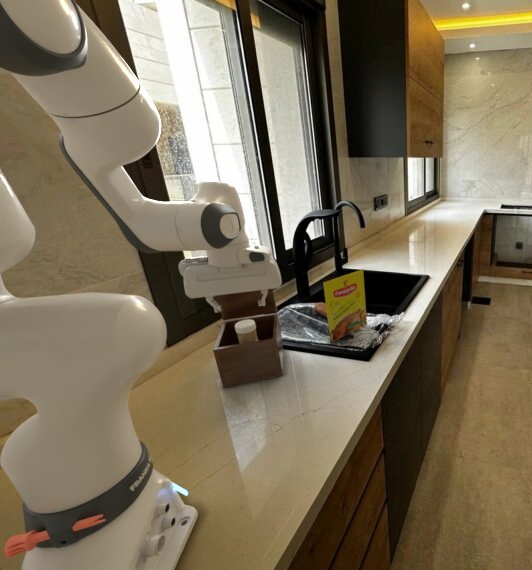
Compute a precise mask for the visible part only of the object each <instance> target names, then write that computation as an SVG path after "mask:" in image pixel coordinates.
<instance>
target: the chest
mask: <svg viewBox="0 0 532 570" xmlns="http://www.w3.org/2000/svg"><path fill="white" fill-rule="evenodd" d="M247 319H250V320H254V321H255V325H256V334H257V338H258V341H254V342H248V343H242V344H240V343H239V339H238V334H237V332H236V330H235V324H236V323H237V322H239V321H242V320H247ZM281 331H282V329H281V325H280V319H279V314H278V312H277V313H270V314H263V315H257V316H250V317H243V318H236V319H229V320H223V322H222V324H221V326H220V330H219V332H218V336H217V338H216V342H214V343H215V344H214V346H213V349H212V352H213V355H214V359H215V363H216V366H217V370H218V374H219V377H220V382H221V385H222V388H227V387H228V388H229V387H233V386H239V385H242V384H243V385H244V384H246V383H247V384H248V383H252V382H256V381H257V382H258V381H261V380H262V381H263V380H266V379H271V378H275V377H281V376H283V375H284V342H283V335H282V332H281Z"/></svg>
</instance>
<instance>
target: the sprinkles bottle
mask: <svg viewBox="0 0 532 570" xmlns="http://www.w3.org/2000/svg"><path fill="white" fill-rule="evenodd" d="M235 330H236V332H237V334H238V339H239V343H240V344H242V343H248V342H254V341H258V338H257V334H256V325H255V321H254V320H250V319H247V320H242V321H239V322H237V323H236V324H235Z"/></svg>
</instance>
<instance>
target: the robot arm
mask: <svg viewBox="0 0 532 570" xmlns="http://www.w3.org/2000/svg"><path fill="white" fill-rule="evenodd" d="M0 75H11V76H12V77H13V78H15V79H16V81H17V82H18V83H19V84H20V85H21V86H22V87H23V89H24V90H25V91H26V92H27V93H28V95H30V97H31V98H32V99H33V100H34V101H35V102H36V103H37V104H38V105H39V106H40V107H41V108H42V109H43V110H44V112H46V114H47V115H49V117H50V118H51V120H52V121H54V123H55V124H56V126H57V127H58V129H59V131H60V132H59V134H58V146H59V148H60V151H61V153H62V155H63V156H64V158H65V160H66V161H67V162H68V164H69V166H70V167H71V168H72V170H73V171H74V173H76V174H77V176H78V177H79V179H81V181H82V182H83V183H84V184H85V186H87V188H88V189H89V191H90V192H91V193H92V194H93V196H95V197H96V199H97V200H98V201H99V203H100V204H101V205H102V206H103V207H104V209H106V211H107V212H108V213H109V215H110V216H111V217H112V219H113V220H114V221H115V222H116V225H117V226H118V228H119V230H120V232H121V234H122V235H123V237H124V238H125V240H126V241H127V242H128V243H129V244H130V246H132V247H134V248H135V249H136V250H138V251H139V252H142V253H145V254H158V253H160V254H161V253H168V252H195V251H205V253H206V255H203V256H196V257H185V258H184V259H182V260H181V261H180V262H179V263H178V272H179V274H180V276H182V277H183V288H184V294H185V295H186V297H188V298H189V299H200V298H205V301H206V302H207V303H208V304H209V305H210V306H211V307H213V310H214V313H215V314H216V313H217V314H219V313H220V312H222V311H223V307H222V303H217V301H216V299H215V296H216V295H225V294H233V293H241V292H249V291H258V290H261V294H263V296H262V298H258V306H259V307H262V306H265V298H266V296H267V294H268V289H273V290H274V289H279V288H280V287H281V286H282V284H283V280H282V275H281V270H280V268H279V265H278V263H277V260H276V259H274V257H272V255H273V254H272V249H271V248H270V247H269V246H265V245H259V244H255V243H250V241H249V237H248V234H247V233H246V226H245V224H246V220H245V219H246V218H245V214H244V210H243V205H242V202H241V199H240V196H239V193H238V191H237V189H236V187H235V186H234V185H232V184H231V183H230V182H229V183H228V182H223V181H213V180H212V181H211V180H208V181H207V180H206V181H205V180H204V181H199V182H196V183H195V184H194V185H193V186H194V189H193V191H194V196H193V197H192V198H191V199H189V200H188V201H161V200H160V201H159V200H155V199H150V198H148V197H145V196H143V194H142V193H141V192H140V190H139V189H138V187H137V186H136V184H135V183H134V182H133V180H132V179H131V177H130V175H129V174H128V172H127V171H126V170H125V168H124V167H123V166H126V165H128V164H132V163H134V162H136V161H139V160H140V159H141V158H143V157H145V156H146V155H147V154H148V153H149V152H150V151H151V150H152V149H153V148H154V147H155V145H156V144H157V143H158V141H159V139H160V136H161V131H162V129H161V128H162V121H161V118H160V114H159V112H158V109H157V108H156V106H155V103H154V102H153V100H152V99H151V97H150V96H149V94H148V93H147V91H146V89H145V88H144V86H143V85H142V83H141V82H140V81H139V79H138V78H137V76H136V75H135V74H134V72H133V71H132V69H131V68H130V66H129V65H128V63H127V62H126V60H125V59H124V57H122V56H121V54H120V53H119V51H118V50H117V49H116V48H115V47H114V45H113V44H112V42H111V41H110V40H109V39H108V38H107V37H106V35H105V34H104V33H103V32H102V30H101V29H100V28H99V27H98V26H97V25H96V23H95V22H94V21H93V20H92V19H91V18H90V17H89V16H88V14H86V13H85V11H84V10H83V9H82V8H81V7H80V6H79V4H77V2H76V0H0ZM35 242H36V228H35V226H34V223H33V222H32V221H31V219H30V218H29V215H28V214H27V212H26V210H25V209H24V206H23V205H22V204H21V201H20V200H19V198H18V196H17V194H16V193H15V191H14V189H13V188H12V186H11V185H10V182H9V181H8V179H7V177H6V176H5V174H4V172H3V171H2V169H1V168H0V402H3V401H7V400H14V399H25V400H27V401H29V402H30V403H31V404H33V406H34V408H35V409H36V413H35V414H34V415H32V416H31V417H29V418H28V419H26V420H25V421H24V422H22V423H21V424H20V425H19V426H17V428H15V429H14V430H13V432H12V433H11V434H10V436H9V437H8V438H7V440H6V441H5V443H4V446H3V448H2V451H1V454H0V467H1V468H2V470H3V471H4V473H5V474H6V476H7V478H8V480H9V481H10V482H11V484H12V485H13V487H14V489H15V490H16V492H17V493H18V495H19V496H20V498H21V500H22V504H21V505H22V516H21V517H22V518H21V519H22V523H23V524H24V531H25V533H20V534H15V535H12V536H11V537H9V538H8V539H7V541H6V543H5V545H4V547H3V549H4V550H3V553H4V556H5V557H6V558H12V557H15V556H18V555H19V554H22V553H25V554H24V557H23V560H22V564H21V567H20V570H175V569H176V567H177V565H178V562H179V560H180V558H181V556H182V553H183V551H184V549H185V547H186V544H187V542H188V540H189V538H190V536H191V534H192V531H193V529H194V527H195V524H196V521H197V520H198V518H199V511H198V510H197V508H195V507H194V506H192V505H187V504H185V503H184V501H183V499H182V497H181V496H180V494H183V495H184V496H188V495H189V492H188V490H186V489H185V488H182V487H181V486H179V485H178V484H176V483H175V482H173V481H172V480H170V478H169V477H167V476H165V475H163V474H162V473H160V472H159V471H158V470H156V469H155V468H154V462H153V460H152V455H151V453H150V450H149V449H148V447H147V446H146V444H145V443H144V441H142V440H140V439H139V437H138V434H137V431H136V429H135V426H134V423H133V419H132V417H131V413H130V408H129V398H130V394H131V391H132V389H133V387H134V385H135V383H136V382H137V381H138V380H139V378H140V377H141V376H142V375H143V374H145V373H146V372H147V371H149V370H150V369H151V368H152V367H153V366H154V364H155V363H156V362H157V361H158V360H159V358H160V357H161V355H162V353H163V352H164V349H165V346H166V343H167V338H168V329H167V324H166V321H165V319H164V316H163V315H162V313H161V311H160V310H159V308H157V306H155V304H154V303H152V302H151V301H150V300H148V299H147V298H145V297H144V296H142V295H137V294H126V293H125V294H124V293H112V292H97V291H96V292H95V291H94V292H92V291H89V292H78V293H67V294H55V295H43V296H34V297H33V296H32V297H17V296H15V295H13V294H11V292H9V290H7V288H6V285H5V284H4V282H3V281H4V280H3V277H2V273H4V272H6V271H8V270H10V269H11V268H12V267H14V266H16V265H17V264H19V263H21V262H22V261H24V259H25V258H26V257H27V256H28V255H29V254H30V253H31V251H32V250H33V247H34V245H35ZM179 493H180V494H179Z"/></svg>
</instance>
